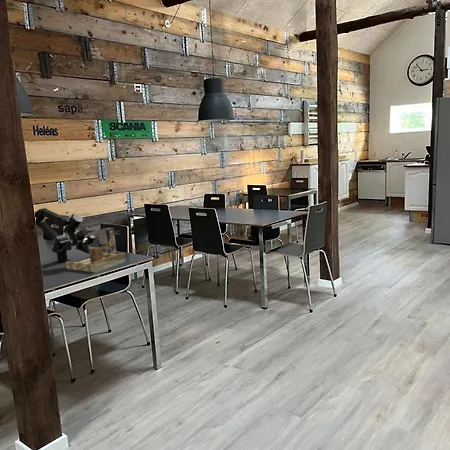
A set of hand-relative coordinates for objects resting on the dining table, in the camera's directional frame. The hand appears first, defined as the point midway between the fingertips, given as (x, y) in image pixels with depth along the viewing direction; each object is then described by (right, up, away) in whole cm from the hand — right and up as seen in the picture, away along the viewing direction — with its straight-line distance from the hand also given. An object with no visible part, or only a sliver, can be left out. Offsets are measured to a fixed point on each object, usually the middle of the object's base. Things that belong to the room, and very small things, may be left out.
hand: (89, 253), depth 259 cm
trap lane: (+4, -7, -1) cm, 8 cm away
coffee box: (+5, -2, +26) cm, 26 cm away
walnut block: (+5, -5, -2) cm, 7 cm away
